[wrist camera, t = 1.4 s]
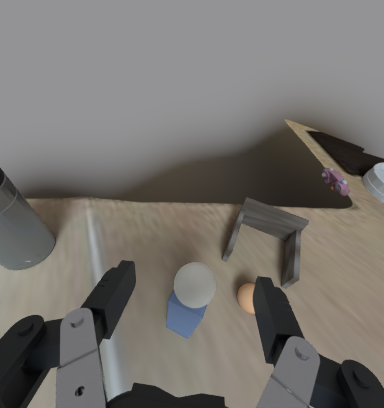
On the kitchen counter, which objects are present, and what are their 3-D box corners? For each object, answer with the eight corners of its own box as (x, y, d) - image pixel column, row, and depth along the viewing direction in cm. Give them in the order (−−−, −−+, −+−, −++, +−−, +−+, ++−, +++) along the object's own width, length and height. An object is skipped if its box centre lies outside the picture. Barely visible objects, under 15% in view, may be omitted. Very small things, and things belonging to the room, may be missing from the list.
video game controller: (316, 180, 68) (319, 166, 62) (329, 175, 67) (333, 161, 62) (335, 201, 62) (341, 187, 56) (349, 195, 61) (357, 181, 56)
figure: (188, 340, 32) (211, 310, 16) (164, 327, 32) (166, 287, 17) (198, 313, 34) (226, 266, 19) (176, 302, 35) (186, 248, 20)
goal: (286, 288, 39) (308, 273, 33) (221, 259, 42) (231, 241, 36) (290, 239, 48) (308, 220, 42) (236, 217, 50) (246, 197, 44)
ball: (228, 298, 37) (236, 289, 33) (246, 283, 39) (254, 273, 35) (247, 322, 34) (258, 316, 31) (265, 305, 37) (276, 297, 33)
